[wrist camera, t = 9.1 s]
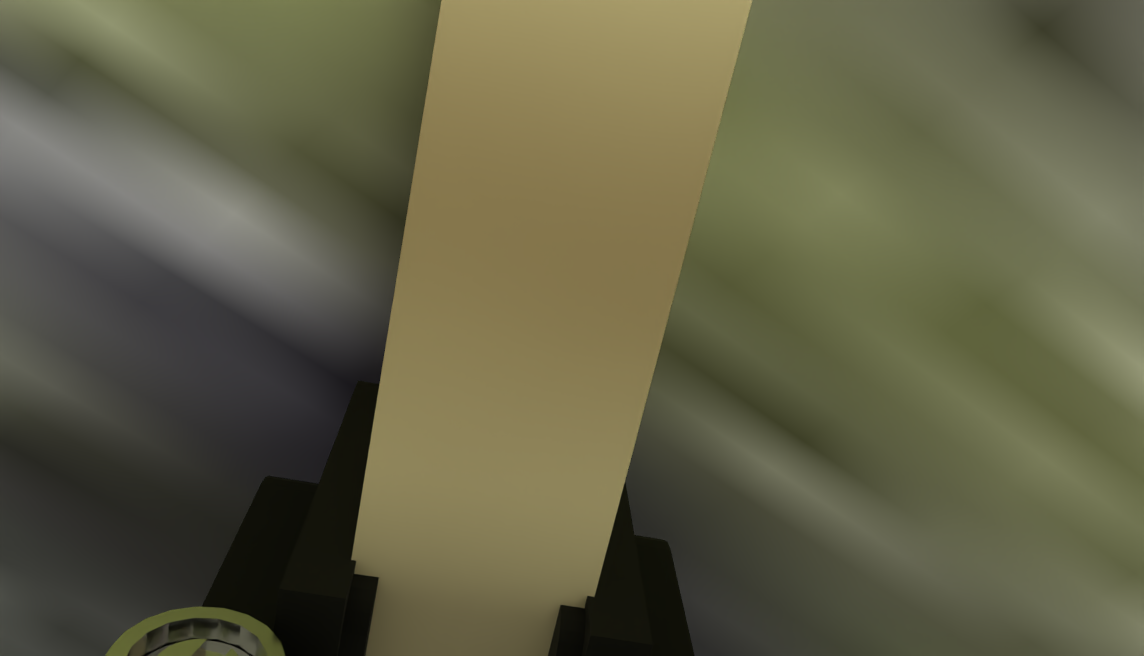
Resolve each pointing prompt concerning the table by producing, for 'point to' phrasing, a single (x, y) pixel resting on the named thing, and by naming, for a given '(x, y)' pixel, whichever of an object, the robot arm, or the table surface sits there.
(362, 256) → the table surface
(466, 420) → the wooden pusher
